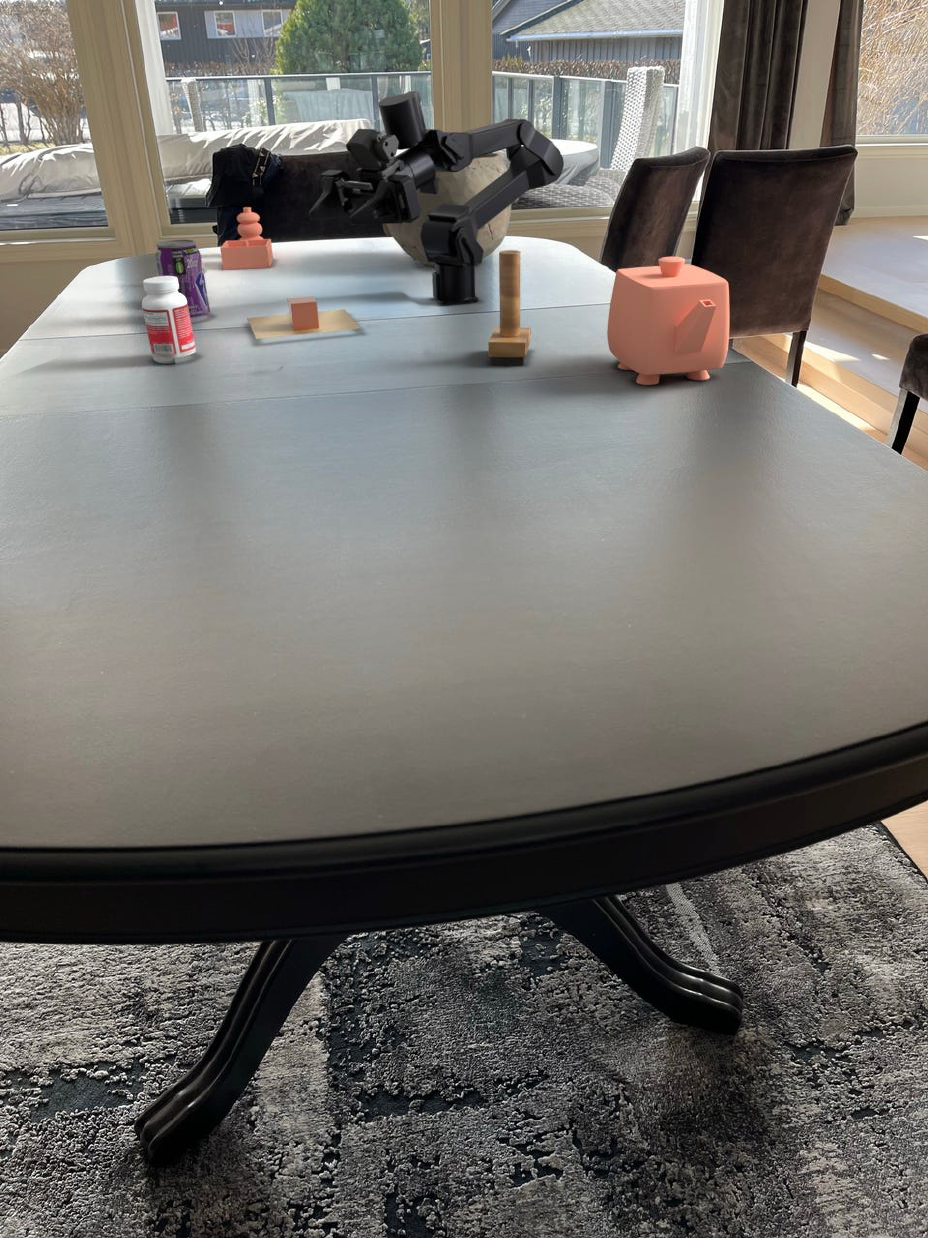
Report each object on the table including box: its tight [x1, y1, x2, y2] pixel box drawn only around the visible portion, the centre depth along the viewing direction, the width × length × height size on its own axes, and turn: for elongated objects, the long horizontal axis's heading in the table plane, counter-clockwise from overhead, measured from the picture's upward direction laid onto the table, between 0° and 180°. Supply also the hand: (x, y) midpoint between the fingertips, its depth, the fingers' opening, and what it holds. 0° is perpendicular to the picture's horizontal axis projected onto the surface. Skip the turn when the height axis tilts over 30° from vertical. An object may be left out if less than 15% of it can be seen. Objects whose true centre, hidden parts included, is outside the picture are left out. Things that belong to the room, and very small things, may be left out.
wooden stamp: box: [487, 249, 532, 366], centre depth 128 cm, size 8×5×14 cm, turn 171°
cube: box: [286, 295, 319, 331], centre depth 145 cm, size 4×4×4 cm
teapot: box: [606, 256, 730, 386], centre depth 120 cm, size 22×13×14 cm, turn 12°
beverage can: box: [155, 238, 211, 319], centre depth 155 cm, size 7×7×12 cm
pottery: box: [220, 206, 274, 271], centre depth 200 cm, size 18×10×10 cm, turn 5°
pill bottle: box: [141, 275, 197, 365], centre depth 133 cm, size 6×6×11 cm
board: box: [247, 308, 361, 340], centre depth 149 cm, size 16×14×1 cm
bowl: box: [381, 152, 520, 268], centre depth 188 cm, size 27×29×20 cm
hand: (330, 218), depth 139 cm, fingers open, 9 cm apart
